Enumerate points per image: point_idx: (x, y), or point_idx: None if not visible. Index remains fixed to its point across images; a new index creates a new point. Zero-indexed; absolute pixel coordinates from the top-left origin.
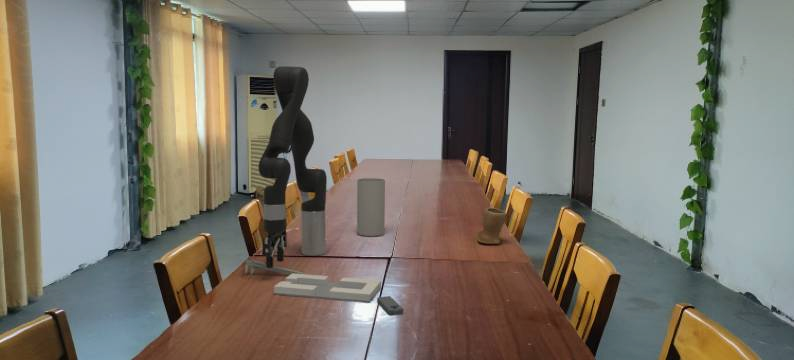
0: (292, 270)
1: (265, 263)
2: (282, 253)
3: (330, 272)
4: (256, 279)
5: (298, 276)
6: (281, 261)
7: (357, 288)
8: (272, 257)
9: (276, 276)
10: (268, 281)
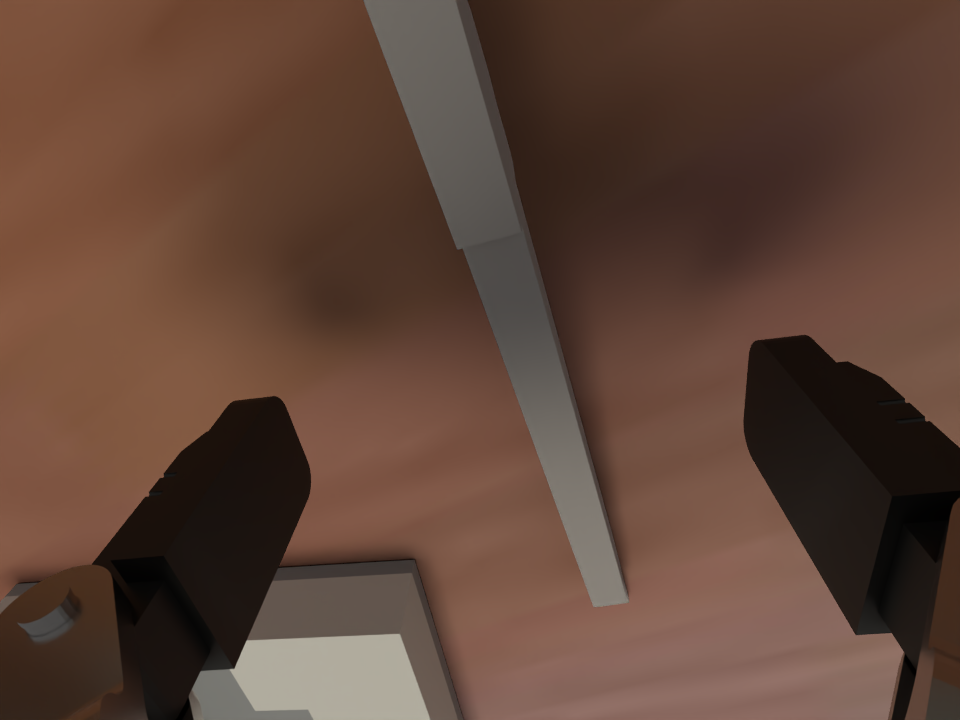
0: (598, 540)
1: (481, 213)
2: (824, 569)
3: (798, 709)
4: (225, 171)
5: (338, 704)
6: (747, 416)
7: None
8: (200, 660)
9: (483, 350)
10: (258, 367)
